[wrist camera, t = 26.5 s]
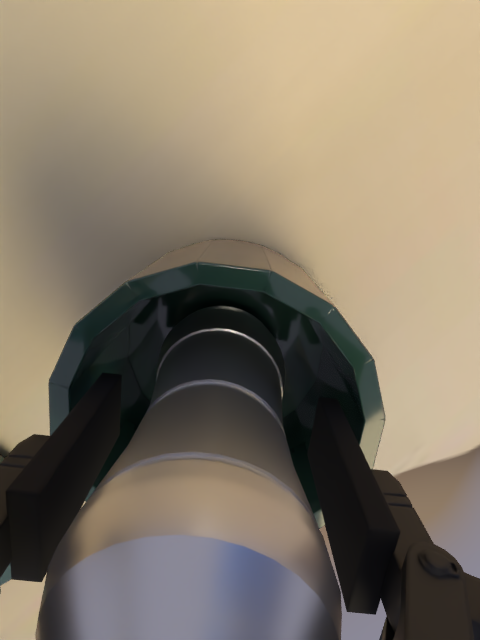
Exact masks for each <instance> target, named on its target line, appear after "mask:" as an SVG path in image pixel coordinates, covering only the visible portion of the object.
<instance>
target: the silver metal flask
mask: <svg viewBox="0 0 480 640" xmlns="http://www.w3.org/2000/svg"><path fill="white" fill-rule="evenodd" d="M284 385H285V366H284V359H283V355H282V352H281V349H280V347H279V345H278V343H277V341H276V340H275V338H274V337H273V335H272V334H271V333H270V332H269V330H268V329H267V328H266V327H265V326H264V324H263V323H262V322H261V321H259V320H258V319H257V318H256V317H254V316H253V315H251V314H249V313H248V312H246V311H244V310H241V309H238V308H235V307H230V306H209V307H206V308H203V309H199V310H197V311H195V312H193V313H192V314H190V315H188V316H187V317H185V318H184V319H182V320H181V321H180V322H179V323H178V324H177V325H175V326H174V327H173V328H172V330H171V331H170V332H169V334H168V335H167V336H166V338H165V340H164V342H163V344H162V346H161V350H160V354H159V359H158V364H157V369H156V384H155V388H154V392H153V395H152V399H151V403H150V406H149V408H148V410H147V412H146V414H145V416H144V418H143V419H142V421H141V423H140V424H139V426H138V428H137V430H136V432H135V434H134V435H133V437H132V439H131V441H130V443H129V444H128V446H127V447H126V449H125V450H124V451H123V453H122V454H121V455H120V457H119V458H118V459H117V461H116V462H115V463H114V465H113V466H112V467H111V469H110V470H109V472H108V473H107V474H106V476H105V477H104V478H103V480H102V481H101V482H100V484H99V485H98V486H97V488H96V489H95V491H94V492H93V493H92V495H91V496H90V497H89V499H88V500H87V501H86V503H85V504H84V506H83V507H82V508H81V509H80V510H79V512H78V513H77V515H76V517H75V518H74V520H73V522H72V523H71V525H70V527H69V528H68V530H67V531H66V533H65V535H64V536H63V538H62V539H61V541H60V542H59V544H58V546H57V548H56V550H55V553H54V555H53V557H52V559H51V561H50V563H49V566H48V571H47V576H46V581H45V586H44V591H43V596H42V601H41V606H40V611H39V617H38V623H37V628H36V640H341V619H342V613H341V592H340V589H339V586H338V582H337V579H336V576H335V573H334V570H333V567H332V564H331V561H330V557H329V554H328V551H327V548H326V545H325V541H324V538H323V535H322V534H321V532H320V530H319V527H318V524H317V521H316V519H315V517H314V514H313V512H312V509H311V507H310V504H309V502H308V500H307V497H306V495H305V492H304V490H303V487H302V485H301V483H300V480H299V478H298V475H297V473H296V471H295V468H294V465H293V462H292V458H291V454H290V450H289V447H288V443H287V440H286V435H285V432H284V428H283V419H282V398H283V393H284Z"/></svg>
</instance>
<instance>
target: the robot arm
mask: <svg viewBox="0 0 480 640" xmlns="http://www.w3.org/2000/svg"><path fill="white" fill-rule="evenodd" d="M121 380H122V375H119V374H110V373H102V374H101V375H100V376H99V378H98V379H97V380H96V381H95V382H94V384H93V385H92V386H91V387H90V389H89V390H88V391H87V392H86V393H85V395H84V396H83V397H82V398H81V400H80V401H79V402H78V403H77V404H76V406H75V407H74V408H73V409H72V410H71V412H70V413H69V414H68V415H67V417H66V418H65V419H64V420H63V421H62V423H61V424H60V425H59V426H58V428H57V429H56V430H55V431H54V432H53V434H52V435H51V436H45V435H36V434H34V435H32V436H30V437H29V438H27V439H25V440H23V441H22V442H20V443H19V444H18V445H17V446H16V447H15V448H14V449H13V450H12V451H11V452H10V453H9V455H8V456H6V458H5V459H4V460H3V461H2V462H1V463H0V578H1V576H2V575H3V573H4V572H5V570H6V569H7V567H8V565H9V564H10V565H11V579H14V580H24V581H34V582H42V580H43V578H44V576H45V575H46V573H47V571H48V566H49V563H50V561H51V559H52V557H53V555H54V553H55V550H56V548H57V546H58V544H59V542H60V541H61V539H62V538H63V536H64V535H65V533H66V531H67V530H68V528H69V527H70V525H71V523H72V522H73V520H74V518H75V517H76V515H77V513H78V512H79V510H80V508H81V507H82V505H83V503H84V501H85V499H86V497H87V495H88V493H89V491H90V490H91V488H92V486H93V484H94V482H95V480H96V478H97V476H98V474H99V473H100V471H101V469H102V467H103V465H104V463H105V461H106V459H107V457H108V456H109V454H110V452H111V450H112V448H113V446H114V444H115V442H116V440H117V439H118V437H119V435H120V410H121ZM307 455H308V459H309V463H310V467H311V471H312V475H313V479H314V483H315V487H316V491H317V495H318V499H319V503H320V507H321V511H322V515H323V519H324V523H325V527H326V531H327V534H328V538H329V542H330V546H331V550H332V554H333V558H334V562H335V566H336V570H337V574H338V578H339V582H340V586H341V590H342V594H343V598H344V602H345V606H346V610H347V612H355V613H365V614H376V611H377V608H378V605H379V602H380V598H381V600H382V603H383V606H384V609H385V612H386V614H387V617H386V620H385V623H384V627H383V630H382V634H381V636H380V639H379V640H480V579H479V578H476V577H474V576H471V575H469V574H467V573H465V572H463V569H462V567H461V565H460V564H459V563H458V562H457V560H456V559H455V558H454V557H453V556H452V555H450V554H449V553H448V552H447V551H445V550H444V549H442V548H440V547H438V546H436V545H435V544H433V542H432V540H431V538H430V536H429V534H428V533H427V531H426V529H425V528H424V525H423V524H422V522H421V520H420V518H419V516H418V515H417V513H416V511H415V510H414V508H412V504H411V502H410V500H409V499H408V497H407V496H406V493H405V491H404V490H403V488H402V486H401V484H400V483H399V481H397V480H396V479H395V478H394V477H393V476H392V475H391V474H390V473H389V472H388V471H382V470H373V469H370V466H369V464H368V462H367V460H366V458H365V456H364V454H363V452H362V450H361V447H360V445H359V443H358V441H357V439H356V437H355V435H354V433H353V431H352V429H351V426H350V424H349V422H348V420H347V418H346V416H345V414H344V412H343V410H342V408H341V405H340V403H339V401H338V399H333V398H324V397H319V398H318V403H317V408H316V413H315V418H314V423H313V429H312V434H311V439H310V444H309V449H308V454H307ZM0 592H1V591H0Z"/></svg>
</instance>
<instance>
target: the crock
mask: <svg viewBox="0 0 480 640" xmlns="http://www.w3.org/2000/svg"><path fill="white" fill-rule="evenodd" d="M209 306H230V307H235V308H238V309H241V310H244V311H246V312H248V313H249V314H251V315H253V316H254V317H256V318H257V319H258V320H259V321H261V322H262V323H263V324H264V326H265V327H266V328H267V329H268V330H269V332H270V333H271V334H272V335H273V337H274V338H275V340H276V341H277V343H278V345H279V347H280V349H281V352H282V355H283V359H284V366H285V385H284V393H283V398H282V419H283V428H284V432H285V435H286V440H287V443H288V447H289V450H290V454H291V458H292V462H293V465H294V468H295V471H296V473H297V475H298V478H299V480H300V483H301V485H302V487H303V490H304V492H305V495H306V497H307V500H308V502H309V504H310V507H311V509H312V512H313V514H314V517H315V519H316V521H317V524H318V527H319V529H320V528H321V527H323V526H325V523H324V519H323V515H322V511H321V507H320V503H319V499H318V495H317V491H316V487H315V483H314V479H313V475H312V471H311V467H310V463H309V459H308V455H307V454H308V449H309V444H310V439H311V434H312V429H313V423H314V418H315V413H316V408H317V403H318V398H319V397H324V398H333V399H338V401H339V403H340V405H341V408H342V410H343V412H344V414H345V416H346V418H347V420H348V422H349V424H350V426H351V429H352V431H353V433H354V435H355V437H356V439H357V441H358V443H359V445H360V447H361V450H362V452H363V454H364V456H365V458H366V460H367V462H368V464H369V466H370V469H373V466H374V462H375V458H376V454H377V450H378V446H379V443H380V439H381V435H382V431H383V427H384V423H385V412H384V407H383V402H382V397H381V392H380V387H379V382H378V376H377V371H376V366H375V361H374V359H373V357H372V355H371V354H370V353H369V351H368V350H367V349H366V347H365V346H364V345H363V343H362V342H361V341H360V339H359V338H358V337H357V335H356V334H355V332H354V331H353V330H352V328H351V327H350V326H349V324H348V323H347V322H346V320H345V319H344V318H343V316H342V315H341V314H340V312H339V311H338V309H337V308H336V307H335V306H334V305H333V303H332V302H331V301H330V300H329V299H328V298H327V297H326V295H325V294H324V293H323V292H322V291H321V290H320V289H319V287H318V286H317V285H316V284H315V283H314V282H313V280H312V279H311V278H310V277H309V276H308V275H307V274H306V272H305V271H304V270H303V269H302V268H301V267H299V266H298V265H296V264H294V263H293V262H291V261H290V260H288V259H287V258H285V257H284V256H282V255H281V254H279V253H277V252H275V251H273V250H271V249H269V248H267V247H265V246H263V245H260V244H255V243H251V242H246V241H241V240H229V239H212V240H207V241H203V242H198V243H194V244H191V245H188V246H185V247H183V248H180V249H177V250H174V251H170V252H168V253H167V254H165V255H164V256H162V257H161V258H159V259H158V260H157V261H155V262H154V263H152V264H151V265H149V266H148V267H146V268H145V269H144V270H142V271H141V272H139V273H138V274H136V275H135V276H133V277H132V278H131V279H129V280H128V281H126V282H125V283H124V284H122V285H121V286H120V287H119V288H118V289H116V290H115V291H114V292H113V293H112V294H110V295H109V296H108V297H107V298H106V299H104V300H103V301H102V302H101V303H100V304H98V305H97V306H96V307H95V308H94V309H92V310H91V311H90V312H89V313H88V314H86V315H85V316H84V317H83V318H82V319H80V320H79V321H78V322H77V323H76V324H75V325H74V326H73V329H72V331H71V333H70V335H69V337H68V339H67V342H66V344H65V346H64V348H63V350H62V353H61V355H60V357H59V359H58V361H57V364H56V366H55V368H54V370H53V372H52V374H51V377H50V379H49V416H50V436H51V435H52V434H53V432H54V431H55V430H56V429H57V428H58V426H59V425H60V424H61V423H62V421H63V420H64V419H65V418H66V417H67V415H68V414H69V413H70V412H71V410H72V409H73V408H74V407H75V406H76V404H77V403H78V402H79V401H80V400H81V398H82V397H83V396H84V395H85V393H86V392H87V391H88V390H89V389H90V387H91V386H92V385H93V384H94V382H95V381H96V380H97V379H98V378H99V376H100V375H101V374H102V373H110V374H119V375H122V380H121V410H120V435H119V437H118V439H117V440H116V442H115V444H114V446H113V448H112V450H111V452H110V454H109V456H108V457H107V459H106V461H105V463H104V465H103V467H102V469H101V471H100V473H99V474H98V476H97V478H96V480H95V482H94V484H93V486H92V488H91V490H90V491H89V493H88V495H87V497H86V499H85V501H87V500H88V499H89V497H90V496H91V495H92V493H93V492H94V491H95V489H96V488H97V486H98V485H99V484H100V482H101V481H102V480H103V478H104V477H105V476H106V474H107V473H108V472H109V470H110V469H111V467H112V466H113V465H114V463H115V462H116V461H117V459H118V458H119V457H120V455H121V454H122V453H123V451H124V450H125V449H126V447H127V446H128V444H129V443H130V441H131V439H132V437H133V435H134V434H135V432H136V430H137V428H138V426H139V424H140V423H141V421H142V419H143V418H144V416H145V414H146V412H147V410H148V408H149V406H150V403H151V399H152V395H153V392H154V388H155V384H156V369H157V364H158V359H159V354H160V350H161V346H162V344H163V342H164V340H165V338H166V336H167V335H168V334H169V332H170V331H171V330H172V328H173V327H174V326H175V325H177V324H178V323H179V322H180V321H181V320H182V319H184V318H185V317H187V316H188V315H190V314H192V313H193V312H195V311H197V310H199V309H203V308H206V307H209Z"/></svg>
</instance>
